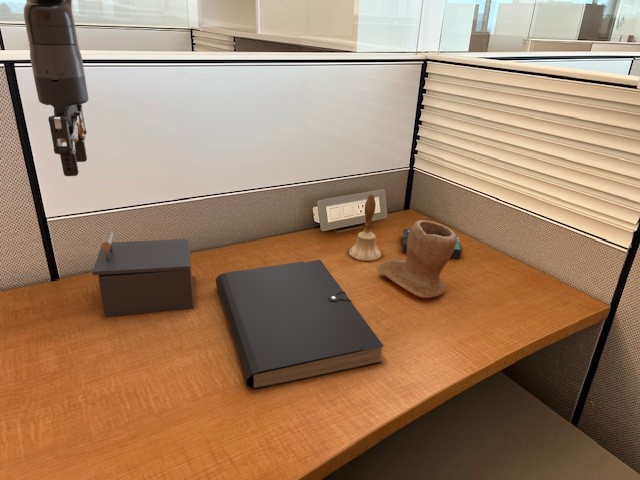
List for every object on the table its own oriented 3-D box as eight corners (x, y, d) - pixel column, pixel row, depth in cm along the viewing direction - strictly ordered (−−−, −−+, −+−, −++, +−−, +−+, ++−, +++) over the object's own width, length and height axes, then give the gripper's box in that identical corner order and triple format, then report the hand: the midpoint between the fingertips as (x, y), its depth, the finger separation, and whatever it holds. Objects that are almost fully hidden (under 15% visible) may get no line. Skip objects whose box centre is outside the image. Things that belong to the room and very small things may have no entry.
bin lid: (92, 275, 89) (89, 251, 87) (102, 245, 100) (99, 223, 98) (190, 269, 93) (188, 246, 91) (189, 242, 104) (188, 221, 102)
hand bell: (371, 244, 127) (376, 187, 121) (387, 258, 121) (394, 198, 114) (343, 249, 124) (347, 191, 117) (358, 263, 117) (363, 202, 111)
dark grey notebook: (385, 343, 82) (245, 373, 75) (383, 362, 84) (246, 393, 77) (320, 257, 110) (215, 272, 103) (320, 273, 112) (216, 289, 104)
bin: (105, 317, 93) (98, 277, 89) (113, 284, 104) (107, 248, 100) (193, 308, 97) (190, 270, 93) (192, 277, 108) (189, 242, 104)
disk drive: (402, 253, 124) (461, 259, 122) (403, 244, 123) (462, 249, 121) (401, 237, 133) (456, 242, 131) (403, 228, 132) (458, 232, 130)
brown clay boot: (458, 292, 107) (470, 231, 101) (419, 306, 101) (429, 242, 95) (412, 264, 118) (420, 207, 112) (374, 275, 112) (381, 216, 106)
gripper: (44, 68, 84) (62, 158, 91) (21, 78, 72) (43, 181, 79) (91, 68, 86) (104, 156, 93) (75, 79, 74) (92, 179, 81)
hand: (76, 168), depth 86 cm, fingers open, 8 cm apart
